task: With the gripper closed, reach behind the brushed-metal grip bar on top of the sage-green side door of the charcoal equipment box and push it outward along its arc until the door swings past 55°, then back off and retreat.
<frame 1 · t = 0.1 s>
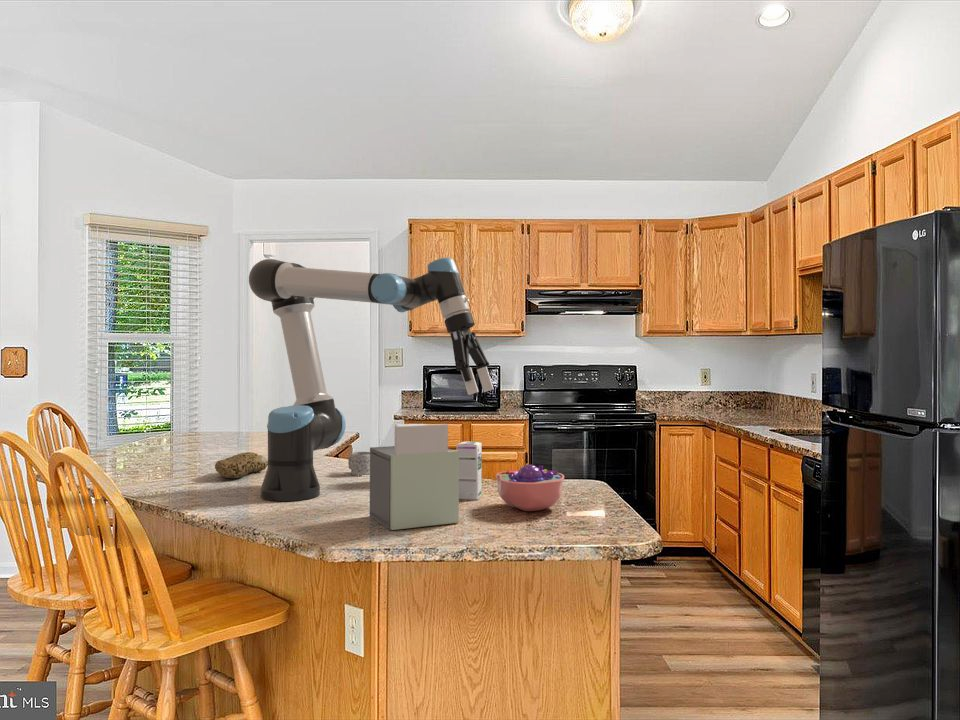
hand: (481, 392, 183), 28 cm above the countertop, tool tilted 20°, fingers open, 13 cm apart
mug: (358, 474, 220), on the countertop
sponge: (240, 476, 215), on the countertop
equipment box: (412, 519, 160), on the countertop
side door: (425, 475, 153), point 11 cm above the countertop, hinge at 0.0°
syrup box: (469, 498, 185), on the countertop
cell model: (530, 509, 172), on the countertop
supplement box: (411, 482, 206), on the countertop
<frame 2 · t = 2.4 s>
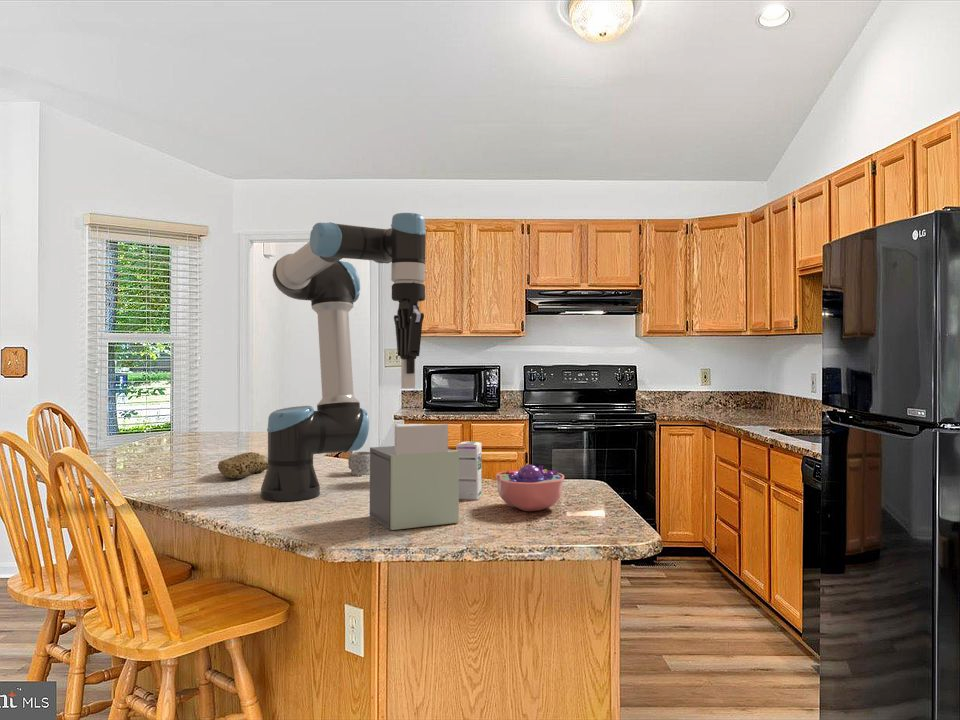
hand: (408, 388, 157), 30 cm above the countertop, tool pointing down, fingers closed
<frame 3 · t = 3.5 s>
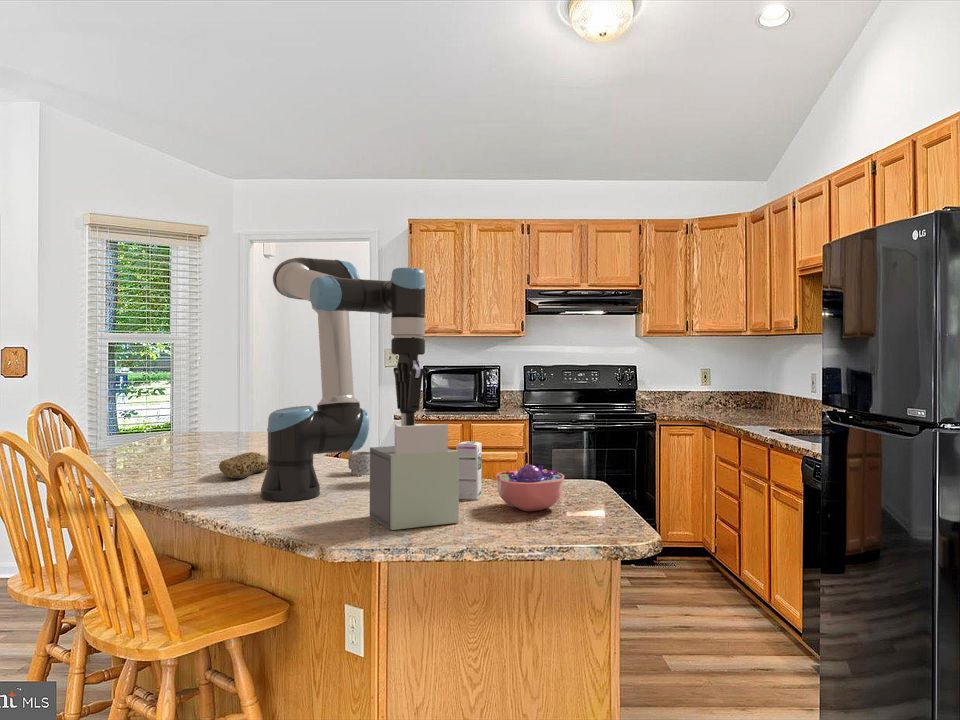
hand: (407, 441, 158), 18 cm above the countertop, tool pointing down, fingers closed
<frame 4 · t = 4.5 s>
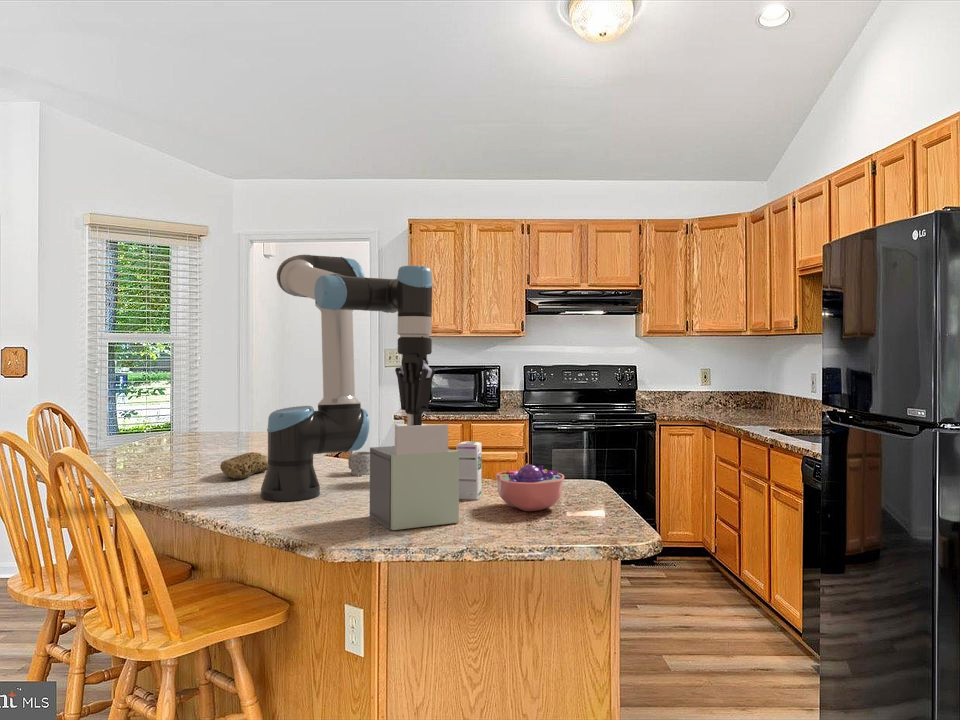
hand: (414, 443, 155), 18 cm above the countertop, tool pointing down, fingers closed
side door: (425, 475, 153), point 11 cm above the countertop, hinge at 0.9°, touching gripper
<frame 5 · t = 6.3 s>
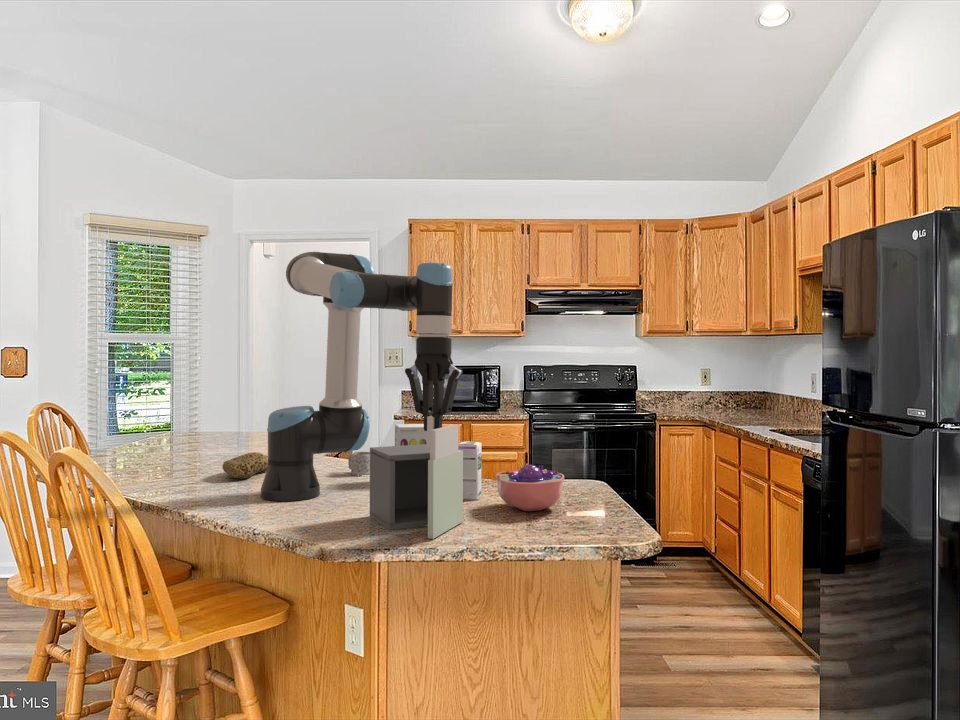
hand: (432, 446, 149), 18 cm above the countertop, tool pointing down, fingers closed
side door: (446, 478, 150), point 11 cm above the countertop, hinge at 42.4°, touching gripper
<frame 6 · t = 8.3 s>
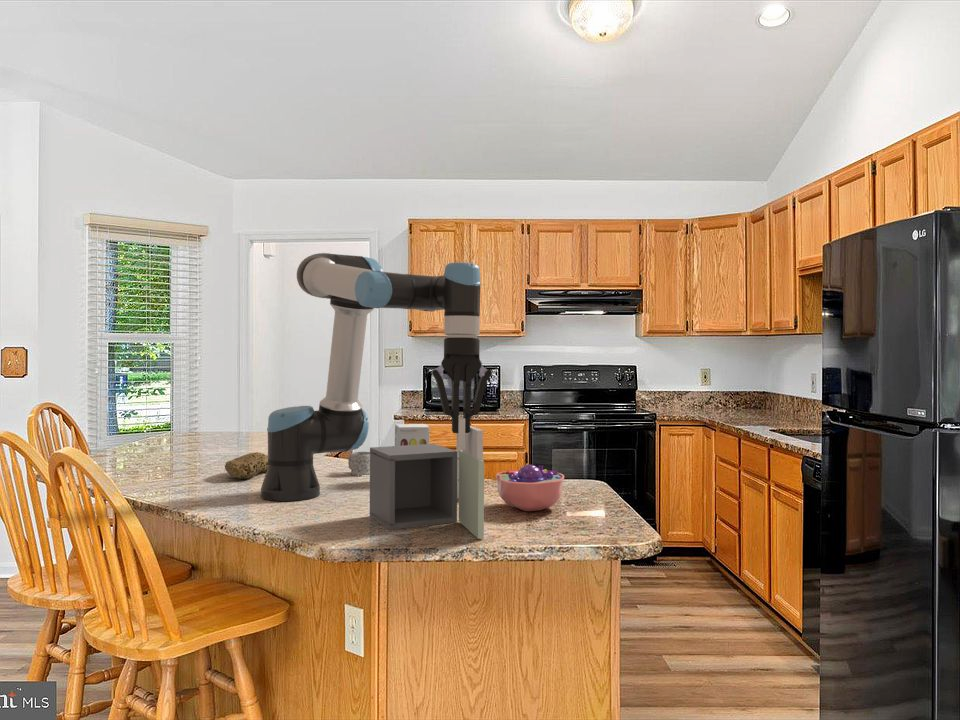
hand: (460, 448, 148), 18 cm above the countertop, tool pointing down, fingers closed
side door: (470, 478, 150), point 11 cm above the countertop, hinge at 80.1°, touching gripper
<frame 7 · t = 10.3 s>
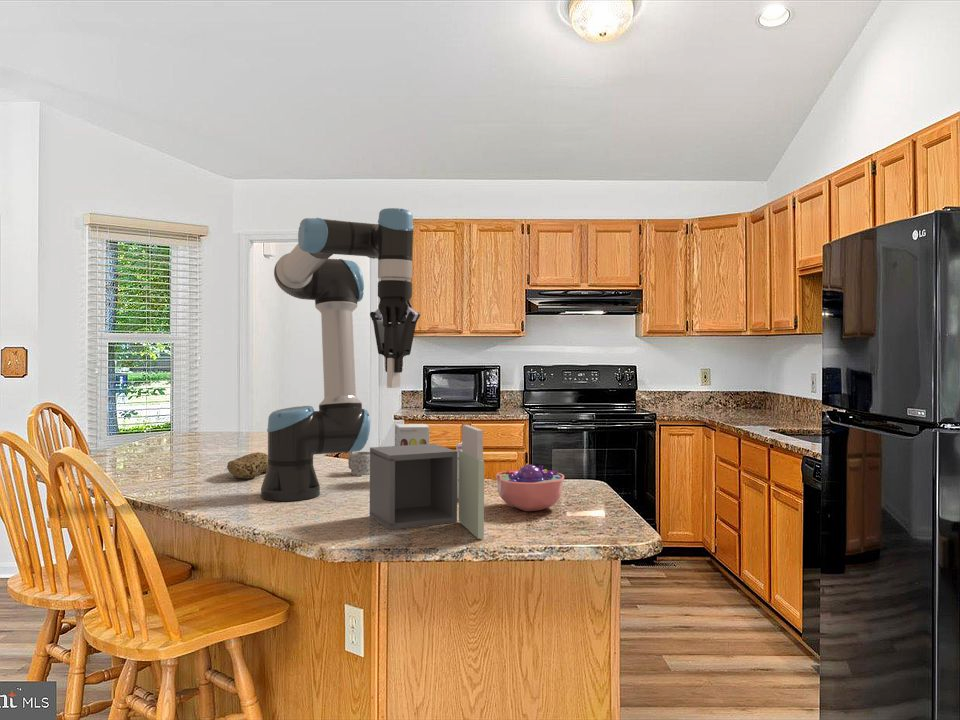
hand: (393, 387, 155), 30 cm above the countertop, tool pointing down, fingers closed
side door: (470, 478, 150), point 11 cm above the countertop, hinge at 80.1°
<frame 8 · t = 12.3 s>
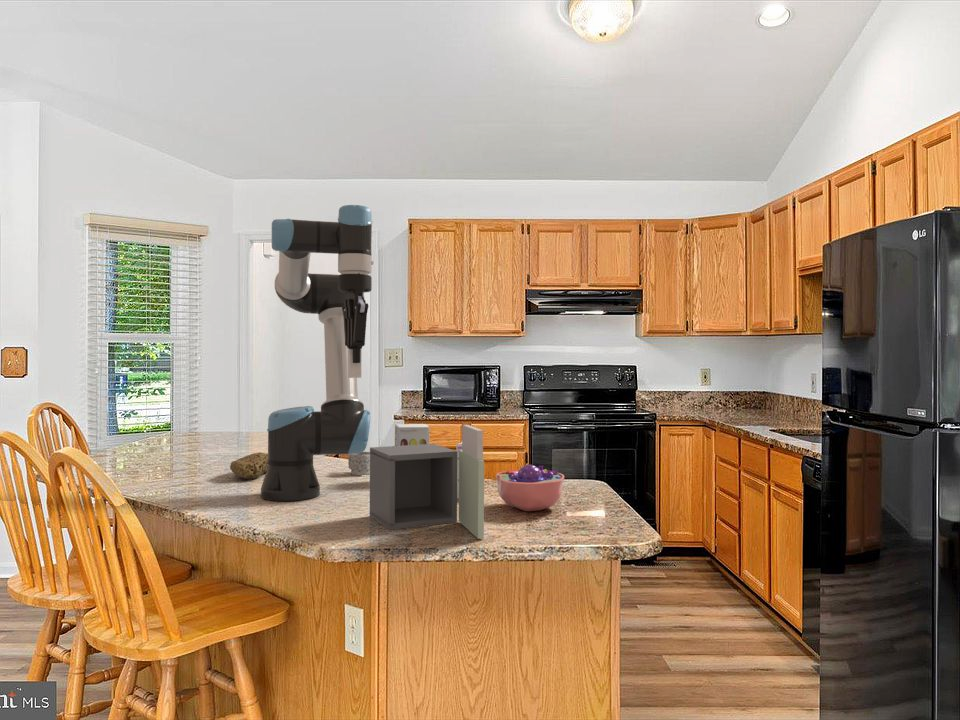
hand: (354, 377, 160), 32 cm above the countertop, tool pointing down, fingers closed
at the end: side door at +80° (first picture: +0°); cell model moved 0.3 cm from its start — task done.
